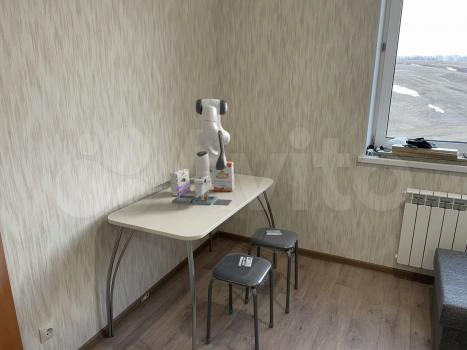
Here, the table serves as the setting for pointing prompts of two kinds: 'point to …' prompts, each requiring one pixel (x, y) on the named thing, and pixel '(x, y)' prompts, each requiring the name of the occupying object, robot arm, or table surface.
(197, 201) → the slate tray
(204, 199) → the letter cube
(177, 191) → the candy box
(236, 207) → the table surface
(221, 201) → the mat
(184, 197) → the charcoal tray
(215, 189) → the cracker box
